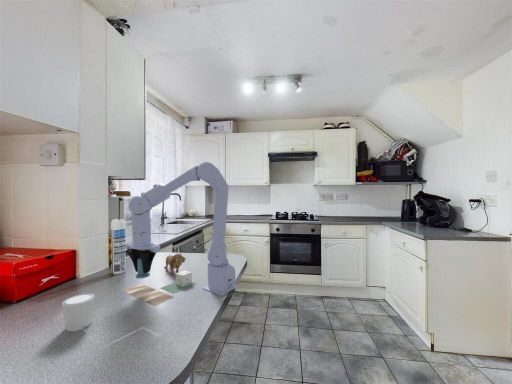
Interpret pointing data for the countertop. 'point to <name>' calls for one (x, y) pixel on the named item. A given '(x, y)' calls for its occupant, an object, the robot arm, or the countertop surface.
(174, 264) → the lion figurine
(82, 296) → the white cylinder
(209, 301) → the countertop surface
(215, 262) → the robot arm
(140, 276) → the pawn
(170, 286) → the felt pad
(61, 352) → the countertop surface
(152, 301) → the track
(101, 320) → the countertop surface
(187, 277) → the die
